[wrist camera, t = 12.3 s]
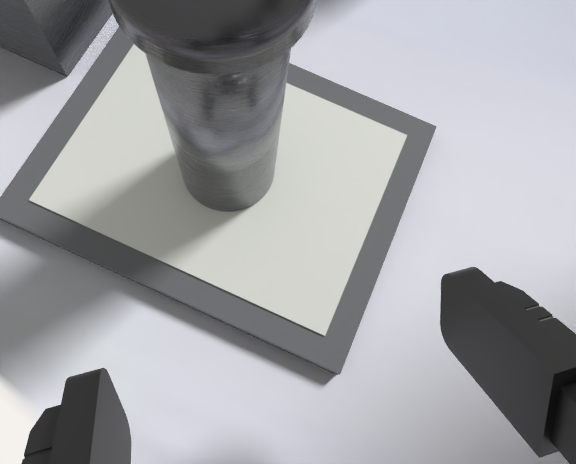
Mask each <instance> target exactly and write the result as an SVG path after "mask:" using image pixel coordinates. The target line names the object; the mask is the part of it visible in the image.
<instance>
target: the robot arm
mask: <svg viewBox="0 0 576 464" xmlns="http://www.w3.org/2000/svg"><path fill="white" fill-rule="evenodd" d="M440 326H441V332H442V335H443V338H444V340H445V343H446V344H447V346H448V348H449V349H450V350H451V352H452V353H453V354H454V355H455V356H456V358H457V359H458V360H459V361H460V362H461V364H462V365H463V366H464V367H465V369H466V370H467V371H468V372H469V373H470V375H471V376H472V377H473V378H474V379H475V381H476V382H477V383H478V384H479V385H480V387H481V388H482V389H483V390H484V391H485V393H486V394H487V395H488V396H489V398H490V399H491V400H492V401H493V402H494V404H495V405H496V406H497V407H498V408H499V410H500V411H501V412H502V413H503V414H504V416H505V417H506V418H507V419H508V420H509V422H510V423H511V424H512V425H513V426H514V428H515V429H516V430H517V431H518V433H519V434H520V435H521V436H522V437H523V439H524V440H525V441H526V442H527V443H528V445H529V446H530V447H531V448H532V449H533V451H534V452H535V453H536V454H537V455H538V457H539V458H540V457H543V456H546V455H549V454H552V453H554V452H557V451H559V452H560V453H561V454H562V455H563V456H564V457H565V458H566V460H567V461H568V462H569V463H570V464H576V334H575V333H574V332H573V331H571V330H570V329H569V328H568V327H566V326H565V325H564V324H563V323H562V322H560V321H559V320H558V319H557V318H553V317H552V314H551V313H549V312H548V311H547V310H546V309H544V308H543V307H540V306H539V304H538V303H537V302H536V301H535V300H533V299H532V298H531V297H530V296H528V295H527V294H526V293H525V292H524V291H522V290H520V289H518V288H515V287H513V286H511V285H508V284H506V283H504V282H502V281H499V282H496V283H494V282H493V281H492V280H491V279H490V278H489V277H488V276H486V275H485V274H484V273H483V272H482V271H481V270H479V269H478V268H476V267H470V268H467V269H463V270H459V271H456V272H452V273H448V274H445V275H444V276H443V277H442V280H441V314H440ZM24 456H25V459H23V461H22V464H131V435H130V428H129V424H128V420H127V417H126V414H125V412H124V409H123V407H122V404H121V402H120V400H119V397H118V395H117V392H116V390H115V388H114V385H113V383H112V381H111V378H110V376H109V374H108V372H107V370H106V369H105V368H101V369H97V370H94V371H90V372H86V373H83V374H79V375H75V376H71V377H69V378H67V380H66V383H65V388H64V393H63V398H62V403H61V405H58V406H55V407H51V408H47V409H45V411H44V412H43V414H42V415H41V417H40V418H39V419H38V421H37V422H36V424H35V425H34V427H33V428H32V430H31V431H30V434H29V438H28V442H27V445H26V449H25V453H24Z"/></svg>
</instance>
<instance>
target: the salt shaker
mask: <svg viewBox="0 0 576 464" xmlns="http://www.w3.org/2000/svg"><path fill="white" fill-rule="evenodd" d="M108 1H109V4H110V7H111V10H112V12H113V14H114V17H115V19H116V21H117V23H118V25H119V26H120V28H121V30H122V31H123V32H124V34H125V35H126V36H127V37H128V38H129V40H130V41H131V42H132V43H133V44H135V45H136V46H137V47H138V48H139V49H140V50H141V51H143V52H144V53H145V54H146V57H147V61H148V64H149V67H150V71H151V74H152V77H153V81H154V84H155V87H156V91H157V94H158V97H159V100H160V104H161V107H162V110H163V114H164V117H165V120H166V124H167V127H168V130H169V134H170V137H171V140H172V144H173V147H174V150H175V154H176V157H177V160H178V164H179V167H180V170H181V174H182V177H183V180H184V183H185V185H186V188H187V189H188V191H189V193H190V194H191V195H192V196H193V197H194V198H195V199H196V200H197V201H198V202H199V203H201V204H202V205H204V206H206V207H208V208H211V209H213V210H217V211H223V212H233V211H239V210H243V209H246V208H249V207H251V206H253V205H254V204H256V203H257V202H259V201H260V200H261V199H262V198H263V197H264V196H265V195H266V193H267V192H268V190H269V189H270V187H271V185H272V182H273V178H274V172H275V164H276V157H277V149H278V142H279V134H280V127H281V119H282V112H283V104H284V96H285V89H286V81H287V74H288V66H289V59H290V51H291V47H292V46H294V44H295V43H296V42H297V41H298V40H299V39H300V38H301V37H302V35H303V33H304V32H305V30H306V29H307V27H308V25H309V23H310V21H311V19H312V16H313V12H314V9H315V4H316V0H108Z"/></svg>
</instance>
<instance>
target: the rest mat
mask: <svg viewBox="0 0 576 464" xmlns="http://www.w3.org/2000/svg"><path fill="white" fill-rule="evenodd" d="M435 129H436V126H434V125H432V124H429V123H427V122H425V121H422V120H420V119H418V118H415V117H413V116H411V115H408V114H406V113H404V112H402V111H399V110H397V109H395V108H392V107H390V106H388V105H385V104H383V103H381V102H378V101H376V100H374V99H371V98H369V97H367V96H364V95H362V94H360V93H357V92H355V91H353V90H351V89H348V88H346V87H344V86H341V85H339V84H337V83H334V82H332V81H330V80H327V79H325V78H323V77H320V76H318V75H316V74H313V73H311V72H309V71H306V70H304V69H302V68H300V67H297V66H295V65H293V64H290V63H289V66H288V74H287V81H286V89H285V96H284V104H283V112H282V119H281V127H280V134H279V142H278V149H277V157H276V164H275V172H274V178H273V182H272V185H271V187H270V189H269V190H268V192H267V193H266V195H265V196H264V197H263V198H262V199H261V200H260V201H259V202H257V203H256V204H254V205H253V206H251V207H249V208H246V209H243V210H239V211H233V212H223V211H217V210H213V209H211V208H208V207H206V206H204V205H202V204H201V203H199V202H198V201H197V200H196V199H195V198H194V197H193V196H192V195H191V194H190V193H189V191H188V189H187V188H186V185H185V183H184V180H183V177H182V174H181V170H180V167H179V164H178V160H177V157H176V154H175V150H174V147H173V144H172V140H171V137H170V134H169V130H168V127H167V124H166V120H165V117H164V114H163V110H162V107H161V104H160V100H159V97H158V94H157V91H156V87H155V84H154V81H153V77H152V74H151V71H150V67H149V64H148V61H147V57H146V54H145V53H144V52H143V51H141V50H140V49H139V48H138V47H137V46H136V45H135V44H133V43H132V42H131V41H130V40H129V38H128V37H127V36H126V35H125V34H124V32H123V31H122V30H121V28H120V27H119V28H118V29H117V31H116V32H115V34H114V35H113V37H112V38H111V39H110V41H109V42H108V44H107V45H106V47H105V48H104V50H103V51H102V52H101V54H100V55H99V57H98V58H97V60H96V61H95V62H94V64H93V65H92V67H91V68H90V70H89V71H88V72H87V74H86V75H85V77H84V78H83V80H82V81H81V83H80V84H79V85H78V87H77V88H76V90H75V91H74V93H73V94H72V95H71V97H70V98H69V100H68V101H67V103H66V104H65V105H64V107H63V108H62V110H61V111H60V113H59V114H58V116H57V117H56V118H55V120H54V121H53V123H52V124H51V126H50V127H49V128H48V130H47V131H46V133H45V134H44V136H43V137H42V138H41V140H40V141H39V143H38V144H37V146H36V147H35V149H34V150H33V151H32V153H31V154H30V156H29V157H28V159H27V160H26V161H25V163H24V164H23V166H22V167H21V169H20V170H19V171H18V173H17V174H16V176H15V177H14V179H13V180H12V182H11V183H10V184H9V186H8V187H7V189H6V190H5V192H4V193H3V194H2V196H1V197H0V219H1V220H3V221H6V222H8V223H10V224H12V225H14V226H16V227H19V228H21V229H23V230H25V231H27V232H29V233H31V234H34V235H36V236H38V237H40V238H42V239H44V240H47V241H49V242H51V243H53V244H55V245H57V246H60V247H62V248H64V249H66V250H68V251H70V252H73V253H75V254H77V255H79V256H81V257H83V258H86V259H88V260H90V261H92V262H94V263H96V264H99V265H101V266H103V267H105V268H107V269H109V270H112V271H114V272H116V273H118V274H120V275H122V276H124V277H127V278H129V279H131V280H133V281H135V282H137V283H140V284H142V285H144V286H146V287H148V288H150V289H153V290H155V291H157V292H159V293H161V294H163V295H166V296H168V297H170V298H172V299H174V300H176V301H179V302H181V303H183V304H185V305H187V306H189V307H192V308H194V309H196V310H198V311H200V312H202V313H205V314H207V315H209V316H211V317H213V318H215V319H217V320H220V321H222V322H224V323H226V324H228V325H230V326H233V327H235V328H237V329H239V330H241V331H243V332H246V333H248V334H250V335H252V336H254V337H256V338H259V339H261V340H263V341H265V342H267V343H269V344H272V345H274V346H276V347H278V348H280V349H282V350H285V351H287V352H289V353H291V354H293V355H295V356H297V357H300V358H302V359H304V360H306V361H308V362H310V363H313V364H315V365H317V366H319V367H321V368H323V369H326V370H328V371H330V372H332V373H334V374H336V375H338V374H340V373H341V370H342V368H343V365H344V363H345V360H346V357H347V355H348V352H349V350H350V347H351V345H352V342H353V339H354V337H355V334H356V332H357V329H358V327H359V324H360V321H361V319H362V316H363V314H364V311H365V309H366V306H367V304H368V301H369V298H370V296H371V293H372V291H373V288H374V286H375V283H376V280H377V278H378V275H379V273H380V270H381V268H382V265H383V262H384V260H385V257H386V255H387V252H388V250H389V247H390V245H391V242H392V239H393V237H394V234H395V232H396V229H397V227H398V224H399V221H400V219H401V216H402V214H403V211H404V209H405V206H406V203H407V201H408V198H409V196H410V193H411V191H412V188H413V185H414V183H415V180H416V178H417V175H418V173H419V170H420V168H421V165H422V162H423V160H424V157H425V155H426V152H427V150H428V147H429V144H430V142H431V139H432V137H433V134H434V132H435Z"/></svg>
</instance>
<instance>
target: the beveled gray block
mask: <svg viewBox="0 0 576 464" xmlns="http://www.w3.org/2000/svg"><path fill="white" fill-rule="evenodd" d="M112 13H113V12H112V10H111V7H110V4H109V1H108V0H0V47H3V48H5V49H7V50H9V51H12V52H14V53H16V54H18V55H21V56H23V57H25V58H27V59H30V60H32V61H34V62H36V63H39V64H41V65H43V66H45V67H48V68H50V69H52V70H54V71H57V72H59V73H61V74H63V75H66V76H68V75H69V73H70V72H71V71H72V69H73V68H74V66H75V65H76V64H77V62H78V61H79V59H80V58H81V57H82V55H83V54H84V52H85V51H86V50H87V48H88V47H89V45H90V44H91V42H92V41H93V40H94V38H95V37H96V35H97V34H98V33H99V31H100V30H101V28H102V27H103V26H104V24H105V23H106V21H107V20H108V19H109V17H110V16H111V14H112Z"/></svg>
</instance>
